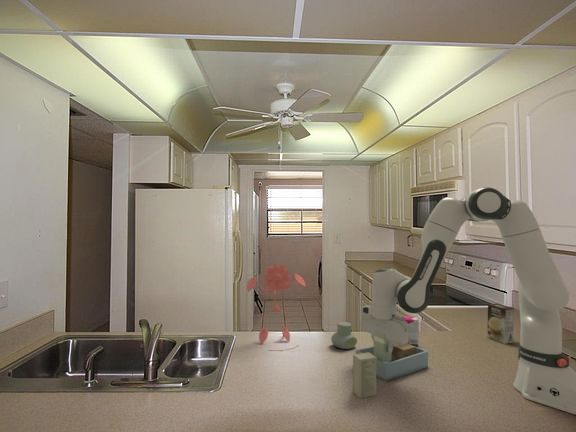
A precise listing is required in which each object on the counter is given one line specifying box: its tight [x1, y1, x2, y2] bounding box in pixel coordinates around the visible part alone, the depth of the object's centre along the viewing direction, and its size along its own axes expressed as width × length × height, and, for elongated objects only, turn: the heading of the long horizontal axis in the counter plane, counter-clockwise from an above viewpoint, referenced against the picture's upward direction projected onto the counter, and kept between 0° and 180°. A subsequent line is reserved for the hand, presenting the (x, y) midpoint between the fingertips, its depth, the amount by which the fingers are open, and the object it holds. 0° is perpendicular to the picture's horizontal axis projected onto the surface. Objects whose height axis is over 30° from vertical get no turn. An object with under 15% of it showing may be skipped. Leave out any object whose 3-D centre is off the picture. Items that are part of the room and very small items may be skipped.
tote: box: [354, 345, 429, 383], centre depth 129 cm, size 15×24×6 cm, turn 124°
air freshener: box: [330, 321, 358, 350], centre depth 148 cm, size 11×8×10 cm
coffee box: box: [486, 302, 515, 345], centre depth 161 cm, size 9×6×16 cm
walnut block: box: [391, 343, 417, 361], centre depth 133 cm, size 7×7×6 cm
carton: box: [373, 331, 392, 362], centre depth 127 cm, size 5×5×10 cm
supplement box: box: [402, 315, 420, 346], centre depth 154 cm, size 6×6×12 cm
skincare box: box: [352, 352, 377, 399], centre depth 109 cm, size 6×4×12 cm
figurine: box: [246, 263, 307, 352], centre depth 149 cm, size 15×26×35 cm, turn 103°
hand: (382, 349), depth 127 cm, fingers closed on carton, 4 cm apart
